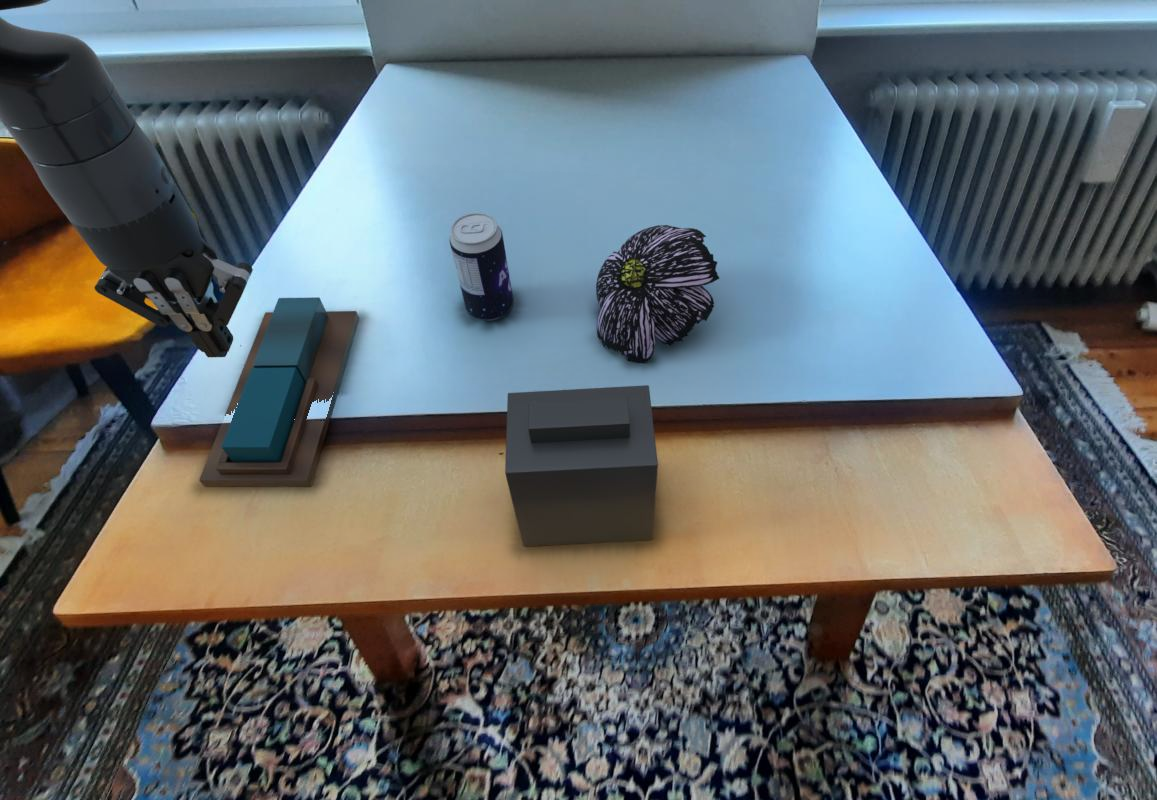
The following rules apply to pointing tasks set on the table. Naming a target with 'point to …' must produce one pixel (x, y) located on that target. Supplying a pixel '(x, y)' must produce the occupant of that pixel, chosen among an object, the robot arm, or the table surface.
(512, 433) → the pad stand
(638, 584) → the table surface
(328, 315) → the brown flat rectangular board
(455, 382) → the table surface
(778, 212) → the table surface
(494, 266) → the beverage can
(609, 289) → the decorative flower
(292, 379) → the back pad
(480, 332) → the table surface
